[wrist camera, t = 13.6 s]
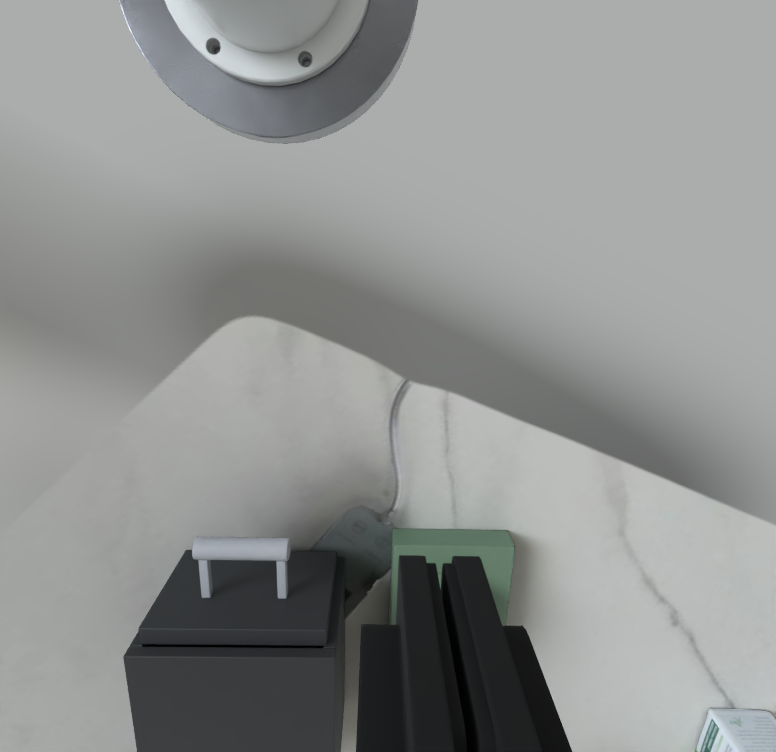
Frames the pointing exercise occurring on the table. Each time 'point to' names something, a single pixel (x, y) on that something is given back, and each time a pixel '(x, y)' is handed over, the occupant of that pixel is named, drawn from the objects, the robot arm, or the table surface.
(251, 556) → the drawer
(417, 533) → the control block
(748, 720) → the syrup box
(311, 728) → the dark grey drawer cabinet
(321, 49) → the robot arm
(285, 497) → the table surface
